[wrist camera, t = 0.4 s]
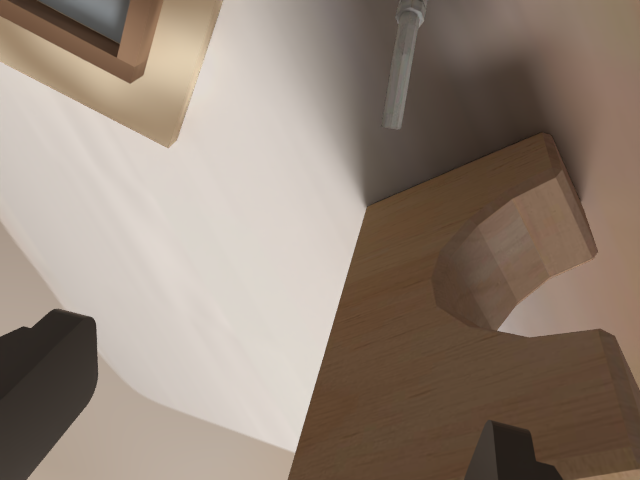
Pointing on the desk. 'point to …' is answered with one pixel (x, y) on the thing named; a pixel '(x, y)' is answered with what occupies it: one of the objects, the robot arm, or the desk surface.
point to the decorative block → (467, 334)
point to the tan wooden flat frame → (114, 55)
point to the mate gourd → (402, 60)
